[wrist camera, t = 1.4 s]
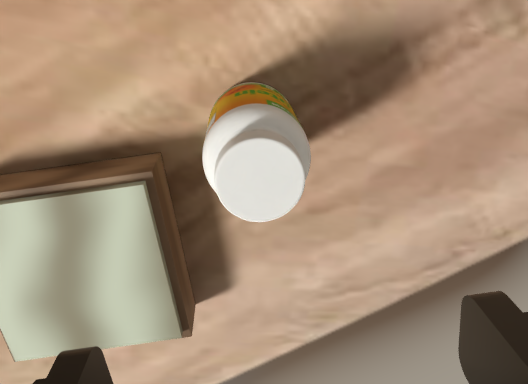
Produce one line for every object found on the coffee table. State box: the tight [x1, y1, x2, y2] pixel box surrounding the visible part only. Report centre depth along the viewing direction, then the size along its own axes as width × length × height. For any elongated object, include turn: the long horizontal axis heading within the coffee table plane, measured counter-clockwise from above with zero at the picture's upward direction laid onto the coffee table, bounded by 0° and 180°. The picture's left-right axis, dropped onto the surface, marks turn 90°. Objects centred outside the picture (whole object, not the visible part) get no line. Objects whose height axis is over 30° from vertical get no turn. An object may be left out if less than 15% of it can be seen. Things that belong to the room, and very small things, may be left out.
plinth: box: [0, 153, 195, 362], centre depth 29 cm, size 12×12×4 cm
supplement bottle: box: [202, 82, 311, 222], centre depth 24 cm, size 5×5×10 cm
